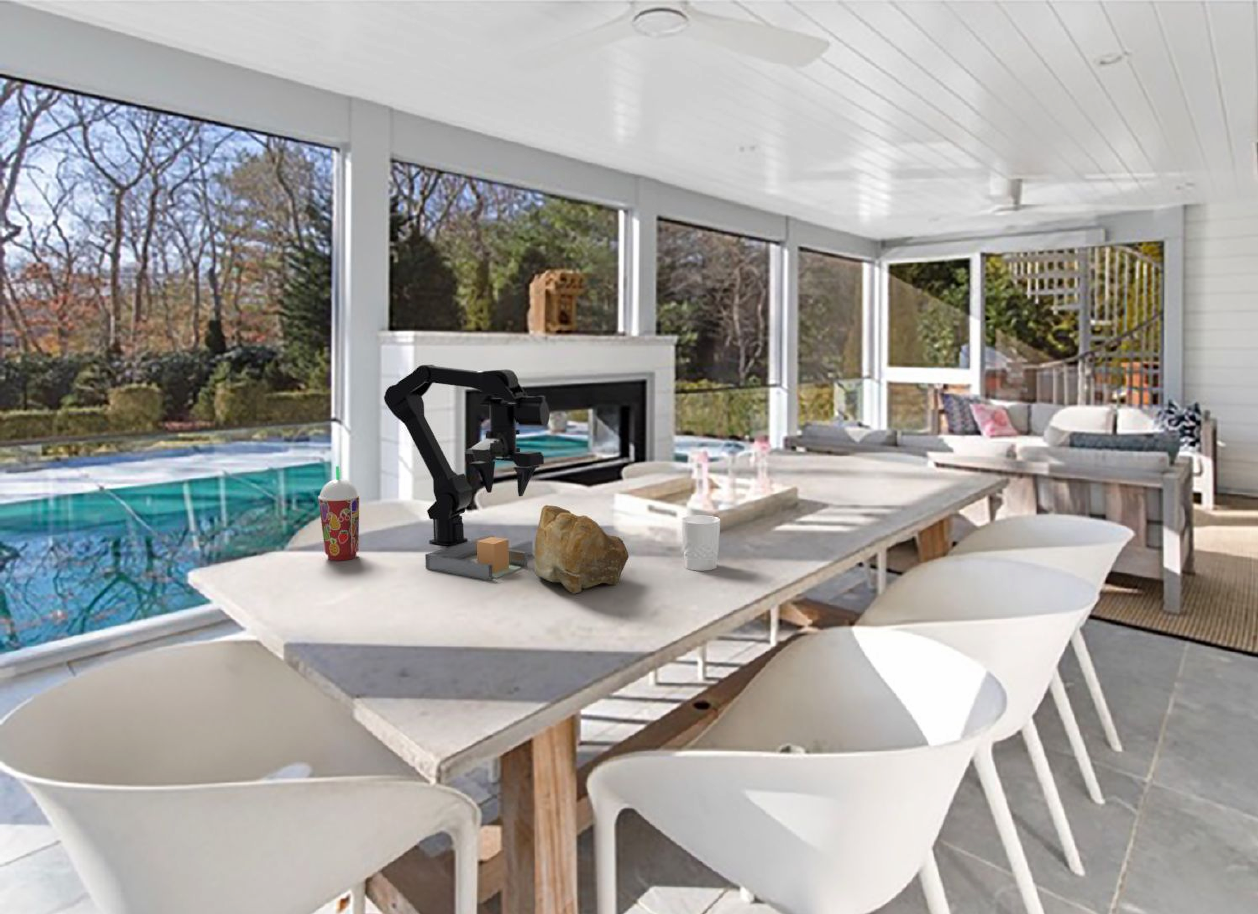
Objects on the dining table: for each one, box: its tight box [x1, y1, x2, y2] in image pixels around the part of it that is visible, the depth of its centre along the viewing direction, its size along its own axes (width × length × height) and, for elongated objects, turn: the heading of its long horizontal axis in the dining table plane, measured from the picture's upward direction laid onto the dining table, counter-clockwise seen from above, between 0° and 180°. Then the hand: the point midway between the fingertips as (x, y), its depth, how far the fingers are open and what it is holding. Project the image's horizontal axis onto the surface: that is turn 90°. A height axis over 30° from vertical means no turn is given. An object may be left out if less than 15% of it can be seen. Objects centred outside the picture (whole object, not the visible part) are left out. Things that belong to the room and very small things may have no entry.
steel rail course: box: [424, 534, 533, 582], centre depth 167 cm, size 17×20×3 cm
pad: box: [492, 565, 523, 579], centre depth 162 cm, size 8×8×1 cm
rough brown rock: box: [534, 504, 630, 595], centre depth 152 cm, size 23×17×15 cm
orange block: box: [476, 536, 510, 573], centre depth 161 cm, size 4×4×6 cm
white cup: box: [681, 514, 721, 572], centre depth 163 cm, size 8×8×10 cm
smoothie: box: [317, 465, 361, 562], centre depth 171 cm, size 8×8×20 cm
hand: (504, 494), depth 180 cm, fingers open, 9 cm apart
